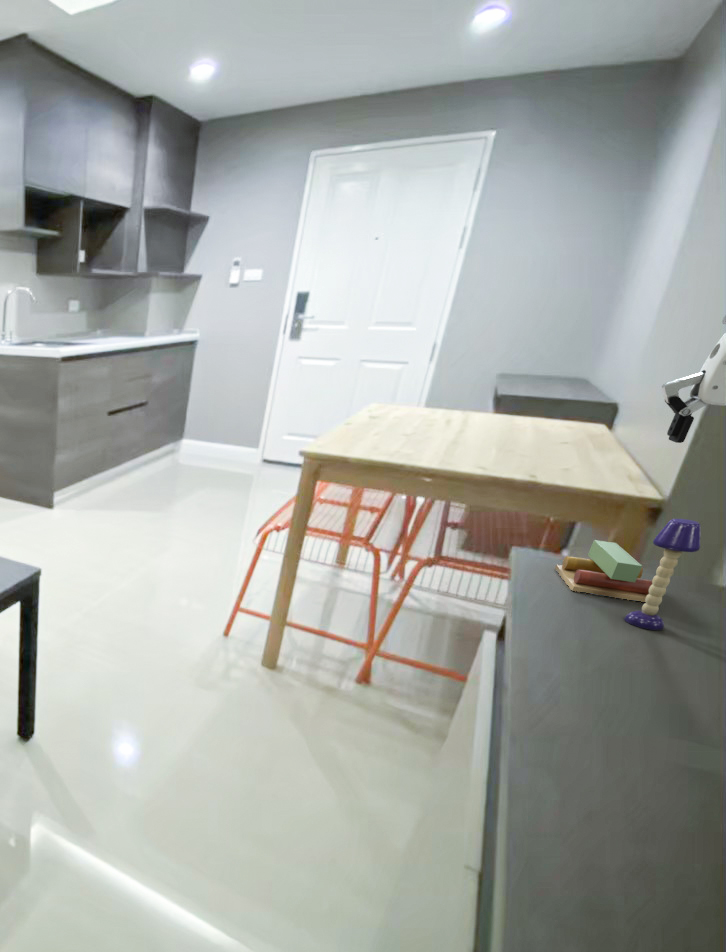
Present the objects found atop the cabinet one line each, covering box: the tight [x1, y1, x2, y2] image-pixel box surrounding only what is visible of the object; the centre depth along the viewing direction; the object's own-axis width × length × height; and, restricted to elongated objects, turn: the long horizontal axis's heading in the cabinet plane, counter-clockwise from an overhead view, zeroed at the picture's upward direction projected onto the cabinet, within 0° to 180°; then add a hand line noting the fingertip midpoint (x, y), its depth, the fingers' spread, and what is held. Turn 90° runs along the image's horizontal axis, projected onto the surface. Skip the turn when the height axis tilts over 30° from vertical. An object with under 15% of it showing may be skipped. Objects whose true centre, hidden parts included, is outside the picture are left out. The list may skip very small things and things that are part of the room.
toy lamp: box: [624, 518, 701, 631], centre depth 91 cm, size 5×5×17 cm
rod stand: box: [554, 555, 653, 603], centre depth 106 cm, size 11×11×3 cm
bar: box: [587, 539, 643, 582], centre depth 104 cm, size 12×3×3 cm, turn 151°
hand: (719, 444), depth 91 cm, fingers open, 9 cm apart
